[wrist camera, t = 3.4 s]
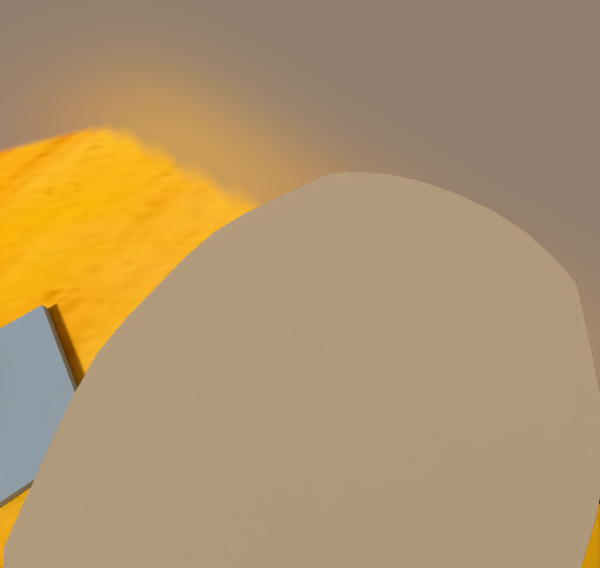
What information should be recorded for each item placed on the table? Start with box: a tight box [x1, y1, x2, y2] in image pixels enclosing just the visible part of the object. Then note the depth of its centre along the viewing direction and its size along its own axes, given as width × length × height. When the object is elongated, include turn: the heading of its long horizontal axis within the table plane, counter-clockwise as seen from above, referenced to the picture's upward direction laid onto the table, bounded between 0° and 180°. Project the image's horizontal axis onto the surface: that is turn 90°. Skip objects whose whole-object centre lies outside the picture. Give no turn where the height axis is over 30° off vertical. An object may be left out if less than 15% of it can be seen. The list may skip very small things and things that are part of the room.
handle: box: [4, 172, 600, 568], centre depth 10 cm, size 5×6×15 cm
